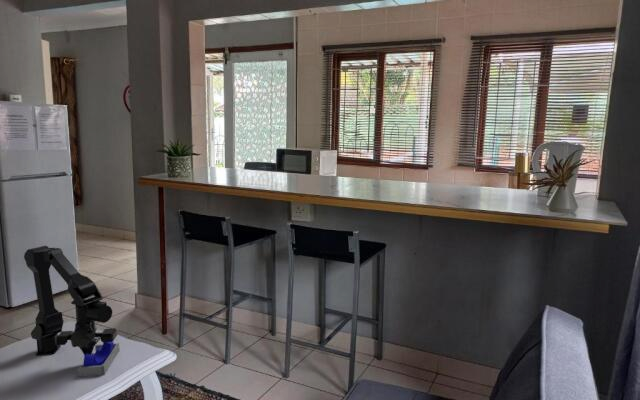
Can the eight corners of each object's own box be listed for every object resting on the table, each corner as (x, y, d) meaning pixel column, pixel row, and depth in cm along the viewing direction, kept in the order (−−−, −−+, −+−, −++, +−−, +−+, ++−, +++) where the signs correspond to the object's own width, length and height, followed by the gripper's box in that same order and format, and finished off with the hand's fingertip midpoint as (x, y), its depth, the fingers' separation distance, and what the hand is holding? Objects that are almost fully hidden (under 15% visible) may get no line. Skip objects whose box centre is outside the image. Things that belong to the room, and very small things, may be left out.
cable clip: (100, 354, 168) (102, 339, 167) (111, 357, 167) (113, 342, 166) (78, 370, 156) (80, 354, 155) (90, 373, 155) (92, 357, 154)
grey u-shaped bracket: (78, 376, 153) (78, 368, 153) (96, 352, 171) (95, 344, 170) (104, 374, 154) (104, 366, 154) (119, 350, 172) (119, 343, 171)
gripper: (46, 328, 150) (50, 373, 152) (106, 325, 153) (109, 369, 155) (60, 315, 161) (63, 357, 163) (116, 312, 164) (118, 353, 166)
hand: (88, 359), depth 162 cm, fingers closed
